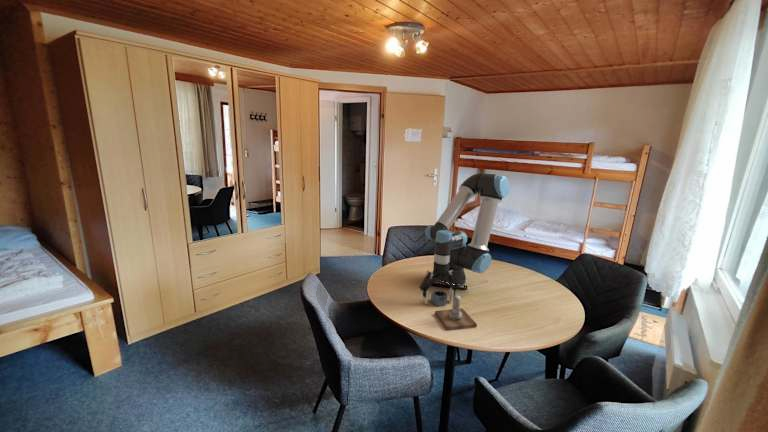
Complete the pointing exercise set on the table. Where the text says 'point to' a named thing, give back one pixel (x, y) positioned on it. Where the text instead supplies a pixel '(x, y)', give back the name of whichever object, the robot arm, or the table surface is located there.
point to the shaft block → (455, 317)
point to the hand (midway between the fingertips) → (438, 301)
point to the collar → (439, 298)
